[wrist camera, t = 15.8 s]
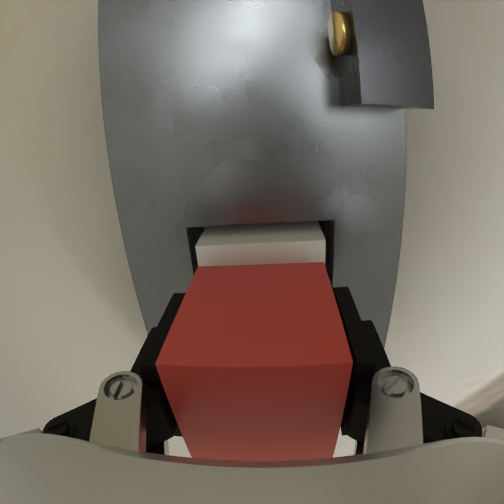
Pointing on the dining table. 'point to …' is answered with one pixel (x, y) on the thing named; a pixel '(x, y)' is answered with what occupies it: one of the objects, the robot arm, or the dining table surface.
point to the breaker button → (261, 244)
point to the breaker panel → (262, 131)
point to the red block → (258, 363)
